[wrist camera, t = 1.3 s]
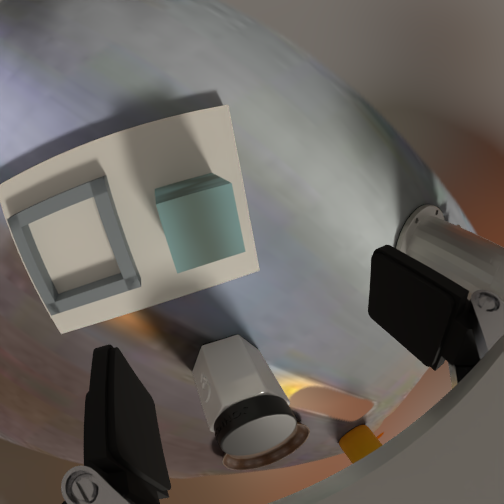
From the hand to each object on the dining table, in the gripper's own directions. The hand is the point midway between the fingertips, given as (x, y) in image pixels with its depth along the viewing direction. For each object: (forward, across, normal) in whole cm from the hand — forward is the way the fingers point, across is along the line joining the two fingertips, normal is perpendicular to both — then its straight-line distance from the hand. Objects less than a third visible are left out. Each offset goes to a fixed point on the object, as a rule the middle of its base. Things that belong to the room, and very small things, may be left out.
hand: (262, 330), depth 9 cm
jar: (+18, +1, +20) cm, 27 cm away
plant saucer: (+19, 0, +46) cm, 50 cm away
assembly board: (+18, +6, 0) cm, 19 cm away
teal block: (+17, 0, 0) cm, 17 cm away
